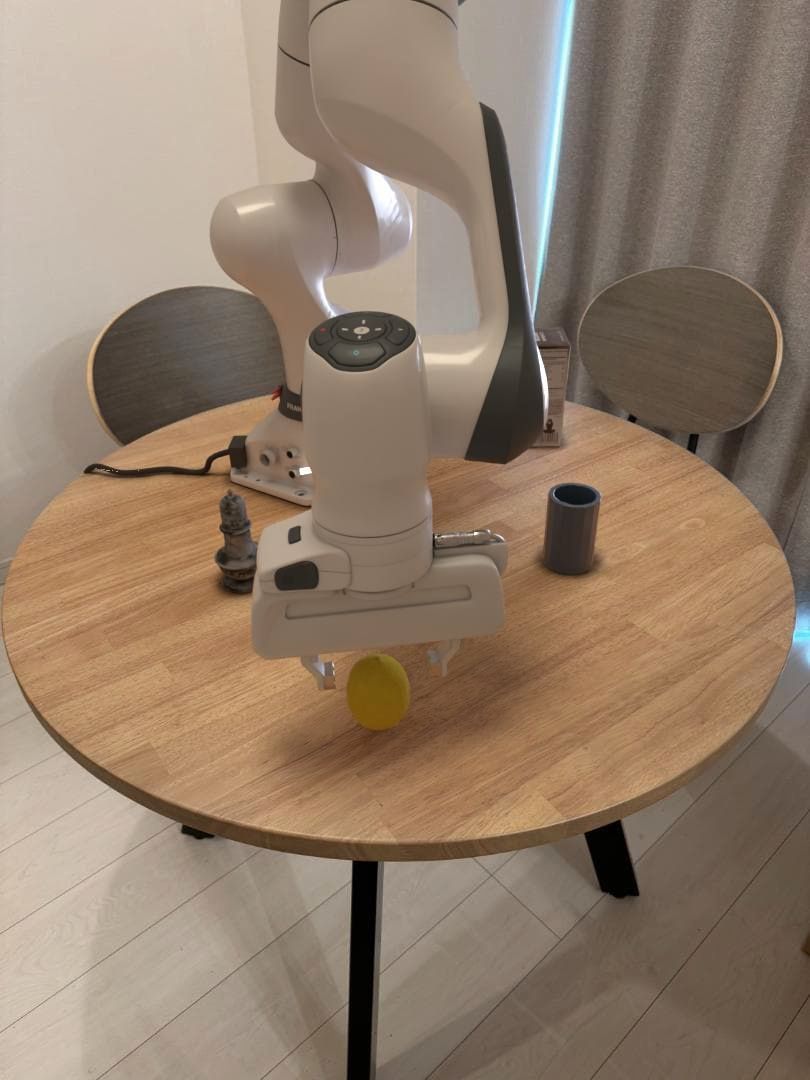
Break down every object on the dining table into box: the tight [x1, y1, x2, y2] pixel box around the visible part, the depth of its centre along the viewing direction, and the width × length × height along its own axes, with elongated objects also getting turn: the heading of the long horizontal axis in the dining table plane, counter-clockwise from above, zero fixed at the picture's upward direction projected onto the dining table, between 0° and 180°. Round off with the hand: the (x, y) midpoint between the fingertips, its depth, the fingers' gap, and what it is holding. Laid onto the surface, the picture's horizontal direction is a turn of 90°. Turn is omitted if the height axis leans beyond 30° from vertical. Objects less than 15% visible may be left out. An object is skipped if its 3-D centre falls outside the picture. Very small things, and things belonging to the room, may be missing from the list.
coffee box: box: [530, 326, 572, 448], centre depth 114 cm, size 9×6×16 cm
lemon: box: [345, 653, 411, 731], centre depth 64 cm, size 6×6×8 cm
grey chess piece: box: [213, 488, 259, 594], centre depth 82 cm, size 6×6×12 cm
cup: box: [542, 482, 603, 576], centre depth 85 cm, size 6×6×9 cm
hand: (382, 678), depth 63 cm, fingers open, 8 cm apart
